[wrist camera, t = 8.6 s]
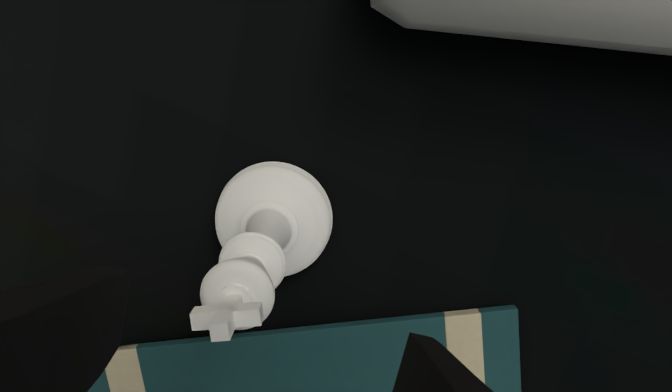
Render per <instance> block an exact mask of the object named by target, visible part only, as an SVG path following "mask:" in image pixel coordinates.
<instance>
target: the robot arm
mask: <svg viewBox="0 0 672 392" xmlns="http://www.w3.org/2000/svg"><path fill="white" fill-rule="evenodd" d="M131 275H132V271H130V270H126V269H121V268H117V267H112V266H100V267H94V268H90V269H85V270H81V271H77V272H73V273H69V274H65V275H61V276H57V277H53V278H49V279H45V280H41V281H37V282H32V283H28V284H23V285H19V286H14V287H9V288H5V289H0V392H88V390H89V389H90V388H91V387H92V386H93V384H94V383H95V382H96V381H97V380H98V378H99V377H100V376H101V374H102V373H103V371H104V370H105V368H106V367H107V365H108V364H109V362H110V361H111V359H112V357H113V356H114V354H115V352H116V351H117V349H118V347H119V346H120V344H121V339H122V333H123V326H124V320H125V313H126V307H127V300H128V294H129V288H130V281H131ZM392 392H494V391H492V390H491V389H490V388H489V387H488V386H487V385H485V384H484V383H483V382H482V381H481V380H480V379H479V378H478V377H476V376H475V375H474V374H473V373H472V372H471V371H470V370H469V369H468V368H467V367H466V366H465V365H463V364H462V363H461V362H460V361H459V360H458V359H457V358H456V357H455V356H454V355H453V354H452V353H451V352H450V351H449V350H448V349H446V348H445V347H444V346H443V345H442V344H441V343H440V342H438V341H437V340H436V339H434V338H433V337H429V336H424V335H420V334H415V333H411V332H410V333H409V336H408V339H407V343H406V346H405V350H404V353H403V357H402V360H401V364H400V367H399V370H398V374H397V377H396V381H395V384H394V388H393V391H392Z"/></svg>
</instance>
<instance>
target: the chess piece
mask: <svg viewBox="0 0 672 392" xmlns="http://www.w3.org/2000/svg"><path fill="white" fill-rule="evenodd" d="M332 223H333V216H332V208H331V204H330V201H329V199H328V196H327V194H326V192H325V191H324V189H323V187H322V186H321V185H320V183H319V182H318V181H317V180H316V179H315V178H314V177H313V176H312V175H310V174H309V173H308V172H306V171H305V170H303V169H301V168H299V167H297V166H294V165H291V164H288V163H283V162H262V163H258V164H254V165H252V166H249V167H247V168H245V169H243V170H242V171H240V172H239V173H237V174H236V175H235V176H234V177H233V178H232V179H231V180H230V181H229V182H228V183H227V185H226V186H225V188H224V189H223V191H222V193H221V195H220V198H219V201H218V204H217V207H216V212H215V227H216V233H217V236H218V239H219V242H220V244H221V246H222V250H221V252H220V256H219V263H218V264H217V265H215V266H214V267H213V268H211V269H210V270H209V271H208V273H207V274H206V275H205V277H204V279H203V281H202V284H201V288H200V299H201V303H202V306H195V307H194V308H193V310H192V311H191V313H190V321H191V327H192V331H197V330H209V331H210V337H211V342H219V341H230V339H231V337H232V335H233V332H234V330H245V329H249V328H252V327H255V326H261V325H262V322H263V321H264V320H265V319H266V318H267V317H268V315H269V314H270V312H271V310H272V308H273V305H274V301H275V290H274V289H275V288H276V287H277V286H278V285H279V284H280V283H281V281H282V280H283V278H284V276H289V275H292V274H295V273H297V272H300V271H302V270H303V269H305V268H307V267H308V266H309V265H311V264H312V263H313V262H314V261H315V260H316V259H317V258H318V257H319V255H320V254H321V253H322V251H323V249H324V248H325V246H326V244H327V242H328V240H329V237H330V234H331V230H332Z"/></svg>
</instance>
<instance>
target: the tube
mask: <svg viewBox="0 0 672 392" xmlns="http://www.w3.org/2000/svg"><path fill="white" fill-rule="evenodd" d="M370 4H371V7H372V8H374V9H375V10H377V11H378V12H380V13H382V14H383V15H385V16H386V17H388V18H390V19H391V20H393V21H394V22H396V23H398V24H399V25H401V26H402V27H404V28H409V29H419V30H429V31H438V32H448V33H458V34H467V35H477V36H487V37H496V38H506V39H516V40H525V41H535V42H545V43H554V44H564V45H574V46H583V47H593V48H603V49H612V50H622V51H632V52H641V53H651V54H660V55H670V56H672V0H370Z"/></svg>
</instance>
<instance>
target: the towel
mask: <svg viewBox="0 0 672 392" xmlns="http://www.w3.org/2000/svg"><path fill="white" fill-rule="evenodd" d="M410 332H411V333H415V334H420V335H424V336H429V337H433V338H434V339H436V340H437V341H438V342H440V343H441V344H442V345H443V346H444V347H445V348H446V349H448V350H449V351H450V352H451V353H452V354H453V355H454V356H455V357H456V358H457V359H458V360H459V361H460V362H461V363H462V364H463V365H465V366H466V367H467V368H468V369H469V370H470V371H471V372H472V373H473V374H474V375H475V376H476V377H478V378H479V379H480V380H481V381H482V382H483V383H484V384H485V385H487V386H488V387H489V388H490V389H491V390H492V391H494V392H521V375H520V350H519V325H518V309H517V307H516V306H515V305H504V306H495V307H485V308H476V309H466V310H456V311H447V312H437V313H428V314H418V315H409V316H399V317H389V318H380V319H370V320H361V321H351V322H342V323H332V324H322V325H313V326H303V327H294V328H284V329H275V330H265V331H255V332H246V333H236V334H233V335H232V337H231V339H230V341H219V342H211V337H210V336H208V337H198V338H188V339H179V340H169V341H160V342H150V343H141V344H131V345H121V346H119V347H118V349H117V351H116V352H115V354H114V356H113V357H112V359H111V361H110V362H109V364H108V365H107V367H106V368H105V370H104V371H103V373H102V374H101V376H100V377H99V378H98V380H97V381H96V382H95V383H94V384H93V386H92V387H91V388H90V389H89V390H88V392H392V391H393V388H394V384H395V381H396V377H397V374H398V370H399V367H400V364H401V360H402V357H403V353H404V350H405V346H406V343H407V339H408V336H409V333H410Z"/></svg>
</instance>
